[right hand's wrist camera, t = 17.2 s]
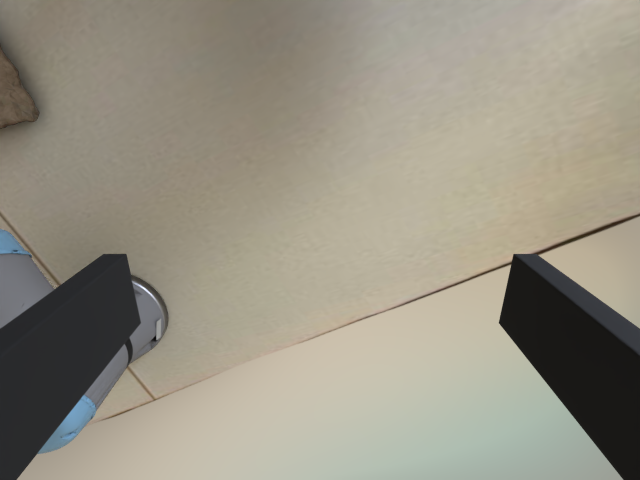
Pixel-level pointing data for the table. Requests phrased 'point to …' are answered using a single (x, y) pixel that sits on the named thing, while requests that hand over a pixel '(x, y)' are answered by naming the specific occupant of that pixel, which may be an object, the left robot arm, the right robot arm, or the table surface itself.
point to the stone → (14, 96)
